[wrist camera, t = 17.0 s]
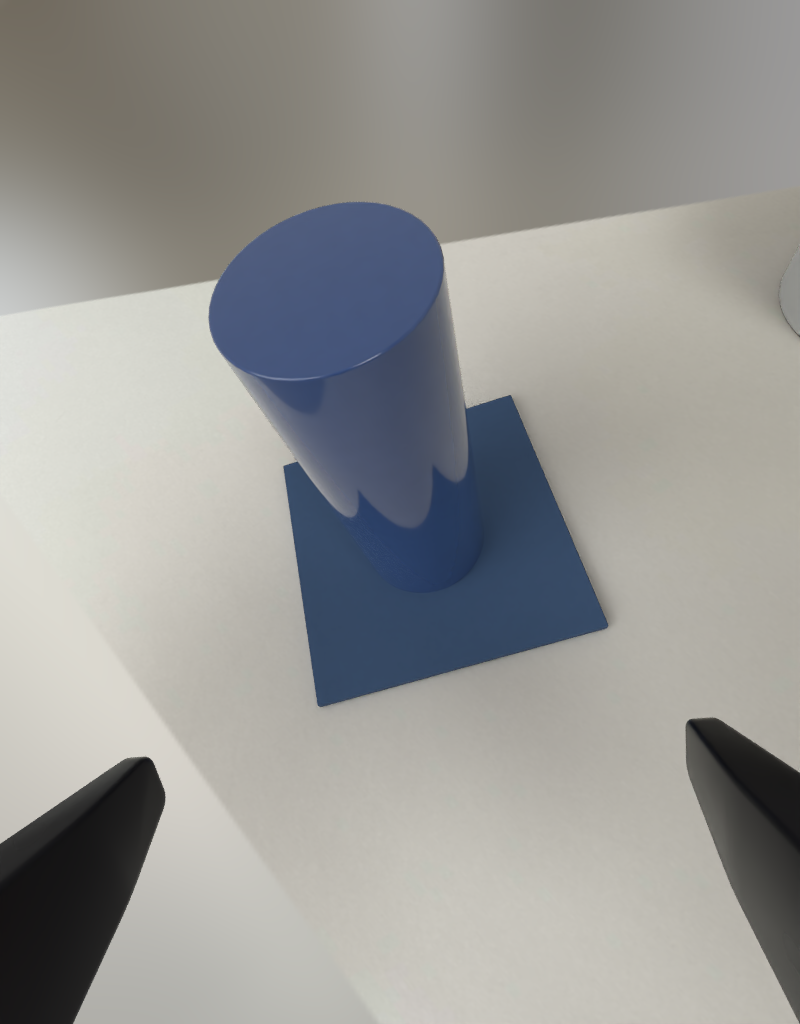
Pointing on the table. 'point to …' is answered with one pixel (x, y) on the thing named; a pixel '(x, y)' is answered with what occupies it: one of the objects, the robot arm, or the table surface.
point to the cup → (791, 292)
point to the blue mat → (458, 608)
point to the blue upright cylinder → (361, 380)
